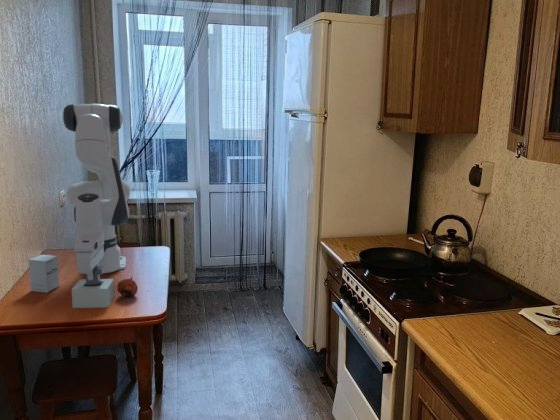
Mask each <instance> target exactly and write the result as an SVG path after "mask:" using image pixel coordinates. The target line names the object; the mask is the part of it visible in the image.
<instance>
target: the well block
mask: <svg viewBox="0 0 560 420" xmlns="http://www.w3.org/2000/svg"><path fill="white" fill-rule="evenodd" d="M115 297H116V295H115V279H114V278H100V286H89V287H87V285H86V278H80V279H79V280H78V281H77V282H76V283H75V285H74V286H73V287H72V288H71V301H72V303H71V304H72V309H93V308H95V309H97V308H101V309H102V308H103V309H104V308H109V306H110V305H111V304H112V302H113V301H114V298H115Z"/></svg>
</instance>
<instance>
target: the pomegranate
mask: <svg viewBox="0 0 560 420" xmlns="http://www.w3.org/2000/svg"><path fill="white" fill-rule="evenodd" d="M138 289H139V288H138V285H137V283H136V281H135V280H133V277H131V278H125V279H122V280H120V281H118V283H117V286H116V291H117V292H118V293H119V294H120V295H121V296H122V298H121V299H120V301H123V299H124V298H125V297H132V298H133V297H134V296H136V294H137V292H138Z"/></svg>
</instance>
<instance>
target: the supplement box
mask: <svg viewBox="0 0 560 420" xmlns="http://www.w3.org/2000/svg"><path fill="white" fill-rule="evenodd" d="M28 270H29V271H28V272H29V283H30V292H37V293H49V292H51V291H52V290H54V289H56V288H58V287H60V277H59V276H60V275H59V274H60V273H59V262H58V255H53V254H52V255H51V254H50V255H49V254H40V255H38V256H35V257H32V258H30V259H28Z"/></svg>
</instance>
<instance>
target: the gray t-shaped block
mask: <svg viewBox="0 0 560 420" xmlns="http://www.w3.org/2000/svg"><path fill="white" fill-rule="evenodd" d="M103 272H104V266H103V267H94V269H93V274H94V279H93V280H88V276H87V274H81V276H85V279H86V285H87V287H89V286H100V279H101V275H103V274H104V273H103Z"/></svg>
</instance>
